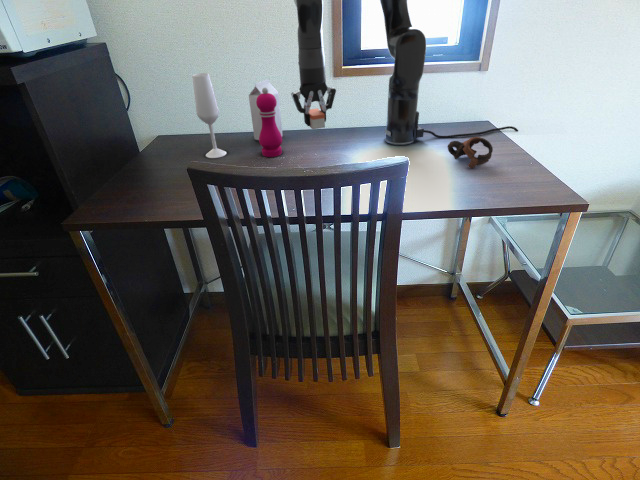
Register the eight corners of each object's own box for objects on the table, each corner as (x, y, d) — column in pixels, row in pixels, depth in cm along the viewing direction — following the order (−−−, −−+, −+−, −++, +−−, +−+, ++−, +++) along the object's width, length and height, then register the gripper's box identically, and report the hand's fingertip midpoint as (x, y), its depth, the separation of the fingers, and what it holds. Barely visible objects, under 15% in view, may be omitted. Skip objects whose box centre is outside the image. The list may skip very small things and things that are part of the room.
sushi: (318, 121, 124) (317, 108, 121) (325, 127, 118) (324, 114, 116) (306, 123, 123) (305, 110, 120) (313, 129, 117) (312, 115, 115)
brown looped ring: (482, 157, 115) (496, 138, 108) (480, 181, 111) (494, 163, 103) (443, 145, 115) (455, 126, 108) (439, 169, 111) (451, 151, 104)
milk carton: (282, 136, 136) (277, 79, 126) (270, 143, 131) (263, 84, 121) (267, 134, 139) (260, 78, 129) (254, 140, 134) (246, 82, 124)
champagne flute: (230, 153, 124) (217, 73, 111) (213, 159, 120) (196, 77, 107) (218, 148, 128) (204, 71, 115) (201, 154, 124) (184, 75, 111)
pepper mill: (279, 158, 119) (272, 90, 108) (257, 157, 121) (248, 90, 110) (286, 149, 125) (280, 85, 114) (265, 149, 126) (257, 85, 115)
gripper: (291, 69, 106) (296, 131, 116) (339, 64, 109) (341, 124, 119) (284, 65, 112) (290, 124, 122) (330, 60, 115) (333, 118, 125)
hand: (315, 124), depth 120 cm, fingers closed on sushi, 4 cm apart
